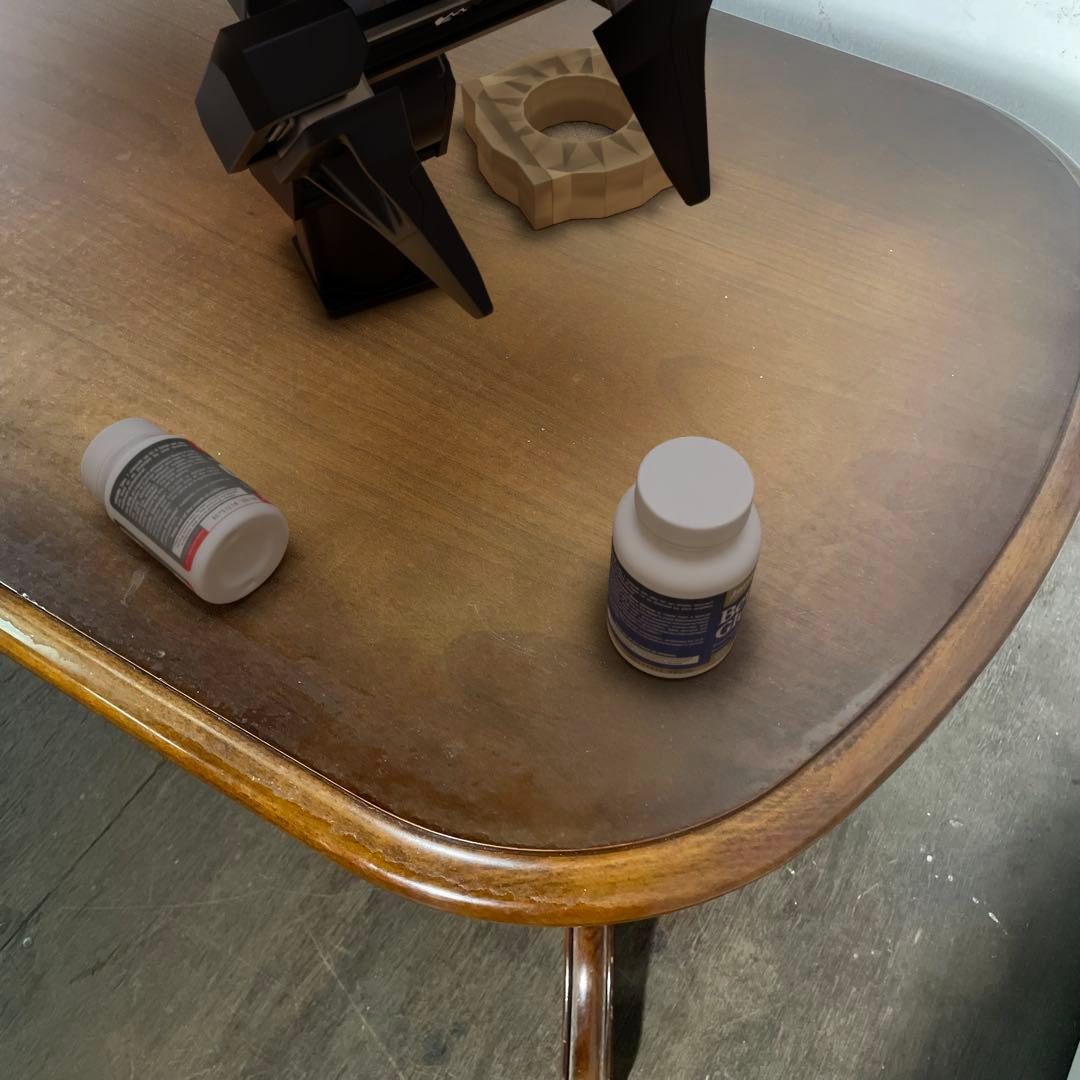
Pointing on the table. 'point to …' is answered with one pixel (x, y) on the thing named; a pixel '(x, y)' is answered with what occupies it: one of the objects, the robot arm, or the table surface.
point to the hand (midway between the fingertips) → (596, 257)
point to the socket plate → (553, 164)
